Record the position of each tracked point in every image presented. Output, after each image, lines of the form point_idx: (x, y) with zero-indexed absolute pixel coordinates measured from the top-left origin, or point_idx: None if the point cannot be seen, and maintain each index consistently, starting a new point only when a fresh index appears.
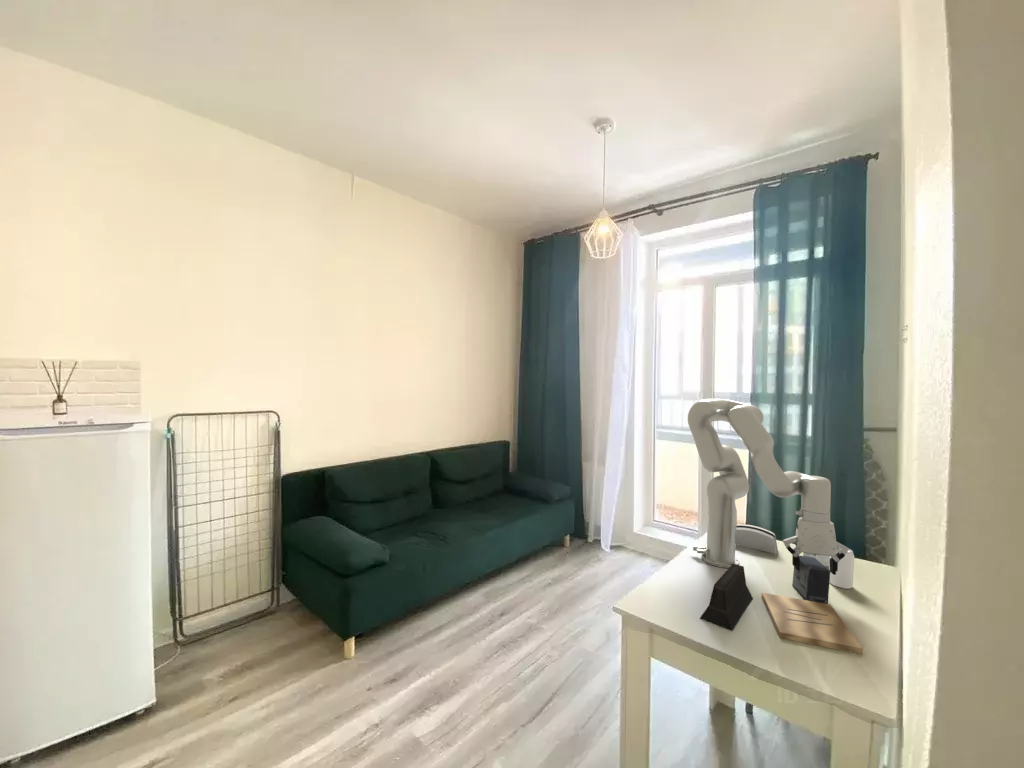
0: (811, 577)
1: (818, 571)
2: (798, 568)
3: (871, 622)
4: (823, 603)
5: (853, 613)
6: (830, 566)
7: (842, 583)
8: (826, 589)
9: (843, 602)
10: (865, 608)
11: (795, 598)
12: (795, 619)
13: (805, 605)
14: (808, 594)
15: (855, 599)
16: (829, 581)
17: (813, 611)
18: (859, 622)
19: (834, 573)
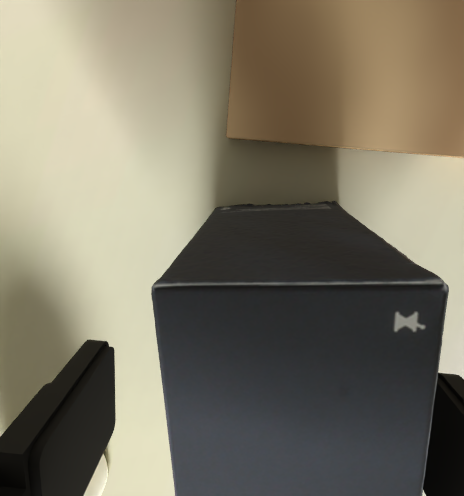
0: (362, 244)
1: (303, 272)
2: (450, 381)
3: (41, 40)
4: (269, 137)
5: (106, 132)
6: (92, 450)
7: None
8: (218, 224)
9: (115, 261)
10: (19, 222)
11: (444, 153)
12: None
13: (422, 55)
14: (339, 209)
15: (38, 316)
16: (106, 470)
17: None
18: (112, 11)
19: (96, 344)
